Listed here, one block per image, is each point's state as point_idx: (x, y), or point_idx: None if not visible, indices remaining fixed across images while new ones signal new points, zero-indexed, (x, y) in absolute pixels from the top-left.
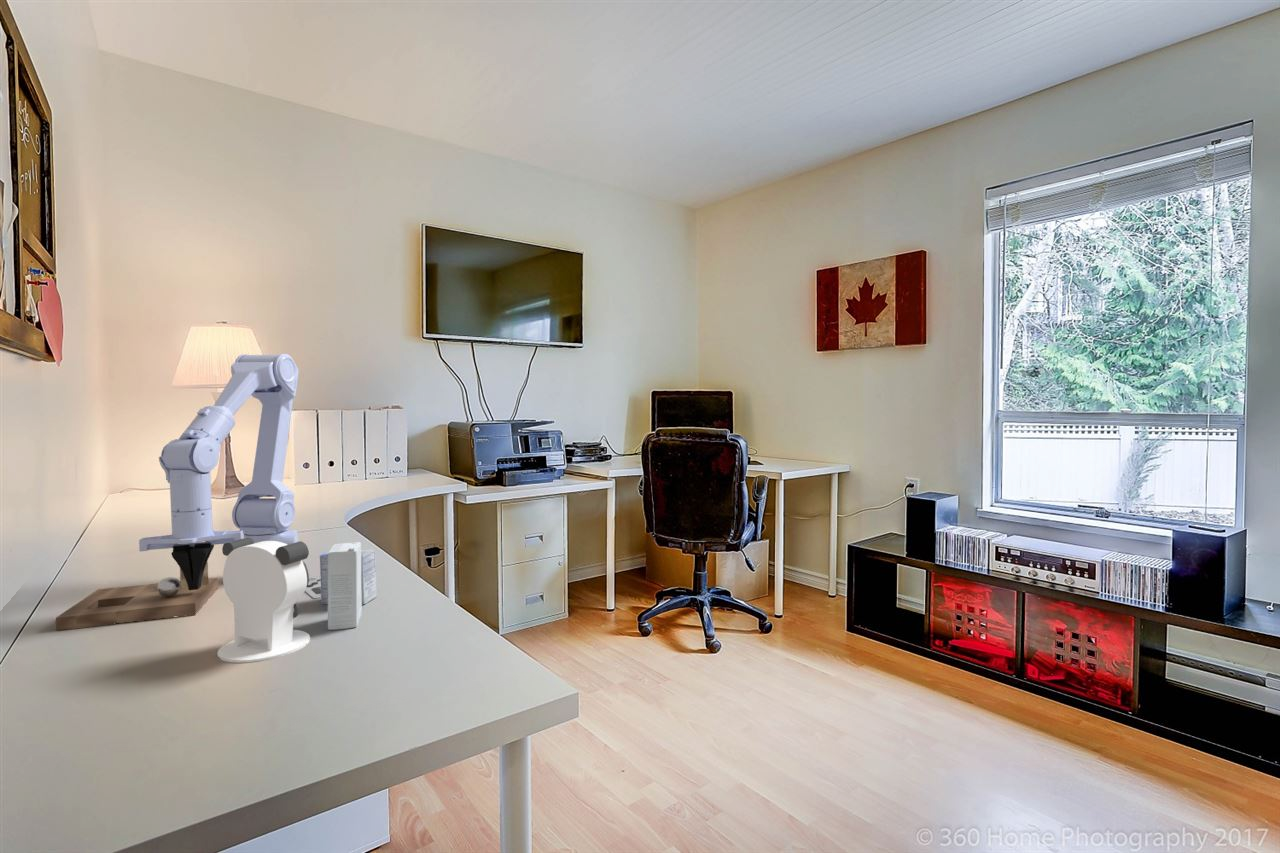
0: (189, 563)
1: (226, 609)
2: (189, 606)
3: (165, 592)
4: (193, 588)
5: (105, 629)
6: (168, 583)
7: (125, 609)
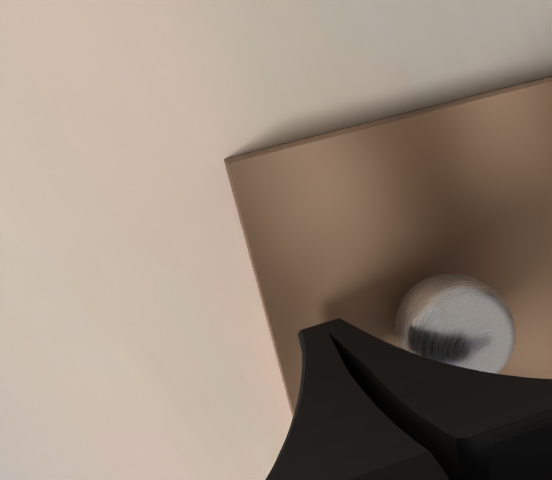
0: (397, 403)
1: (111, 232)
2: (253, 155)
3: (441, 275)
4: (320, 326)
5: (533, 12)
6: (458, 306)
7: (537, 102)
